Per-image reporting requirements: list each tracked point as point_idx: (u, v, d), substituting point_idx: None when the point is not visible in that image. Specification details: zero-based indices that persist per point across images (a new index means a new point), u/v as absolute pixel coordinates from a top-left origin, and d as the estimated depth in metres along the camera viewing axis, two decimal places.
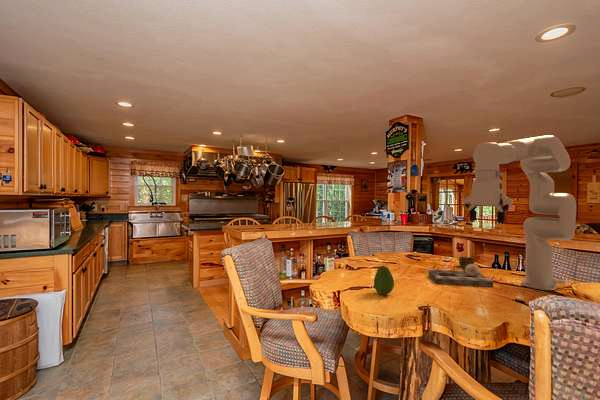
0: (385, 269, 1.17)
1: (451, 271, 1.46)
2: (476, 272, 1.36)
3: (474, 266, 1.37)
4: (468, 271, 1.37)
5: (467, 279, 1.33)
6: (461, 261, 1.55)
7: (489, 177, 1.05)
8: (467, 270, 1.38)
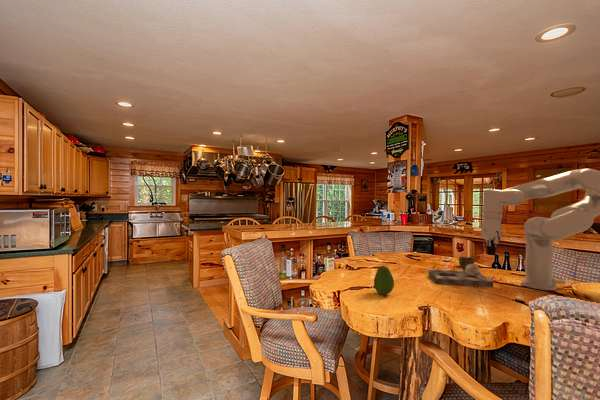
0: (385, 269, 1.17)
1: (451, 271, 1.46)
2: (476, 272, 1.36)
3: (474, 266, 1.37)
4: (468, 271, 1.37)
5: (467, 279, 1.33)
6: (461, 261, 1.55)
7: None
8: (467, 270, 1.38)
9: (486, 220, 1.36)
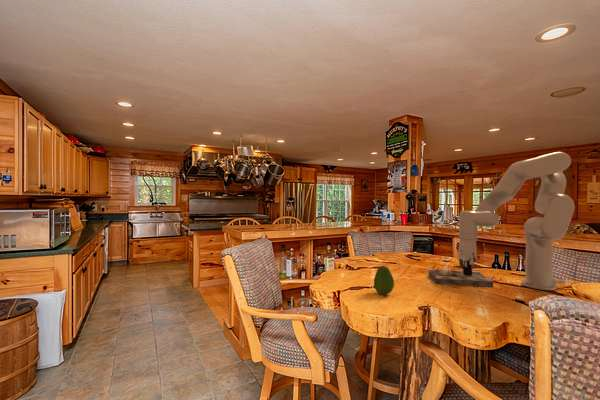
0: (385, 269, 1.17)
1: (451, 271, 1.46)
2: None
3: None
4: (447, 270, 1.39)
5: (467, 279, 1.33)
6: (461, 261, 1.55)
7: None
8: (448, 269, 1.40)
9: (462, 241, 1.38)
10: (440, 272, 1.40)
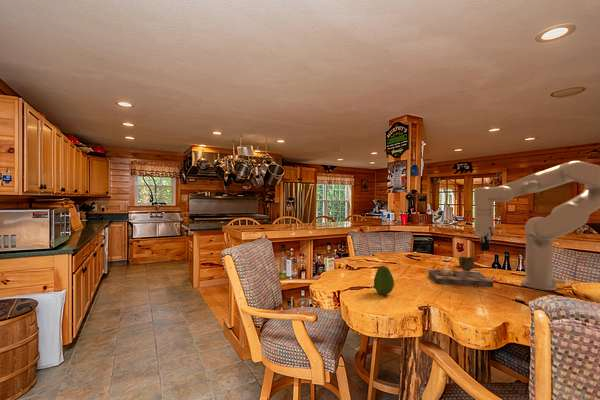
0: (385, 269, 1.17)
1: None
2: None
3: None
4: (449, 270, 1.39)
5: (467, 279, 1.33)
6: (461, 261, 1.55)
7: None
8: (449, 270, 1.39)
9: (478, 217, 1.40)
10: (441, 271, 1.40)
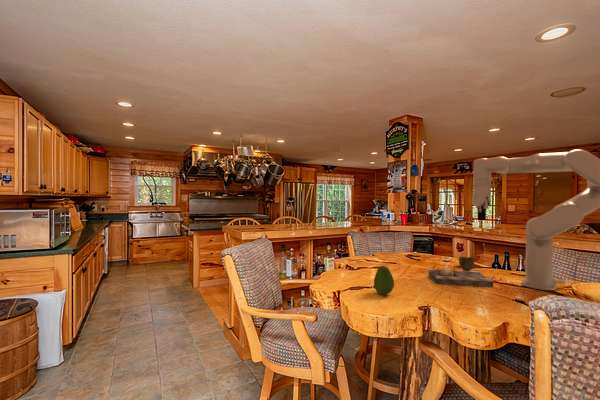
0: (385, 269, 1.17)
1: None
2: None
3: None
4: (450, 270, 1.39)
5: (467, 279, 1.33)
6: (461, 261, 1.55)
7: None
8: (450, 270, 1.39)
9: (476, 187, 1.45)
10: (442, 271, 1.40)
